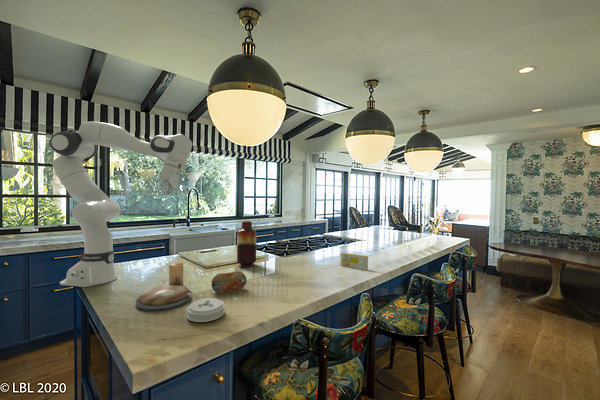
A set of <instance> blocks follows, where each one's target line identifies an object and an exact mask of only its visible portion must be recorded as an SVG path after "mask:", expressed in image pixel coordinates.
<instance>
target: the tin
mask: <svg viewBox="0 0 600 400" xmlns="http://www.w3.org/2000/svg"><path fill="white" fill-rule="evenodd" d="M211 279H212V280H211V284H210V285H211V288H212V290H213V291H214V292H215V293H216V294H221V295H222V294H226V293H232V292H238V291H240V290H242V289H244V287H246V284H247V277H246V275H245V274H244V273H243V272H242V271H238V270H236V271H229V272H221V273H217V274H216V275H215V276H213V278H211Z"/></svg>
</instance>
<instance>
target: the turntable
mask: <svg viewBox="0 0 600 400" xmlns="http://www.w3.org/2000/svg"><path fill="white" fill-rule="evenodd" d="M189 290H190V289H189V288H188V287H187V286H185V285H183V286H179V285H169V284H168V285H162V286H157V287H152V288H150V289H147V290H145V291H143V292H141V293H140V294H139V297H138V298H139V302H140V303H141V304H143V305H149V306H160V305H167V304H172V303H175V302H178V301H181V300H183V299H185V298H186V297H187V296H191V295H192V292H191V293H189Z"/></svg>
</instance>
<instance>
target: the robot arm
mask: <svg viewBox="0 0 600 400" xmlns="http://www.w3.org/2000/svg"><path fill="white" fill-rule="evenodd" d="M48 144H49V146H50V148H51V149H52V150H53V152H55V153H56V154H59V155H60V156H58V157H56V158H55V159H54V160H53V161H52V168H53V171H54V173H55V174H56V177H57V178H58V180H59V182H60V183H61V184H62V185H63V187H64V189H65V190H66V192H67V193H68V195H69V196H70V197H71V198H72V199H74V200H77V201H78V202H79V203H78V204H76V205H75V206H74V207H73V209H72V210H71V217H72V219H73V220H74V221H75V222H76V223H77V224H78V225H79V227H80V229H81V232H82V234H83V242H84V252H83V253H82V254H78V258H81V259H80V261H78V262H77V263H76V264H74V265H72V267H69V269H68V270H67V272H66V277H65V279H63V280H61V281H59V285H60V286H69V287H79V288H87V287H92V286H97V285H102V284H107V283H109V282H113V281H115V280H116V279H118V276H117V274H116V270H115V269H116V268H115V264H114V263H115V262H114V259H115V251H114V247H113V244H114V242H113V233H112V232H111V231H110V230H109V228H108V224H107V222H111V221H113V220H115V219H116V218H118V217H119V216H120V214H121V212H122V211H121V210H122V209H121V206H120V204H119V203H118V202H116V201H114V200H113V199H111V198H110V197H109V196H108V195H107V194H106V193H105V192H104V191H102V189H101V188H100V187H99V186H98V185H97V184H96V182H95V181H94V180H93V179H92V177H91V175H90V174H89V173H88V171H87V170H86V168H85V167H84V165H83V164H86V163H88V162H89V161H90V160H92V158H94V157H95V156H96V154H97V153H98V146H100V147H101V146H102V147H106V148H111V149H118V150H124V151H129V152H135V153H138V154H143V155H147V156H151V157H155V158H157V159H159V160H161V161H162V163H163V165H162V166H163V167H162V169H161V173H160V179H161V180H162V184H161V189H160V190H161V191H162V192H165V195H166V196H170V195H171V193H172V191H173V190H174V189H175V190H176V189H177V187H178V185H179V181H180V177H181V174H183V173H185V169H186V165H187V164H188V163H187V161H188V158H189V157H190V155H191V152H192V149H193V148H192V147H193V141H192V140H191V138H189V137H188V136H186V135H184V134H182V133H178V134H175V135H163V134H158V135H155V136H154V137H152V138H151V140H150V142H148V141H144V140H141V139H139V138H137V137H136V136H134V135H133V134H131V133H130V132H129V131H127V130H126V129H125V128H123V127H120V126H118V125H115V124H113V123H107V122H102V121H101V122H100V121H84V122H83V123H81V124H80V126H79V129H78V130H77V131H76V130H74V129H69V130H66V131H65V130H64V131H59V132H56V133H53V134H52V135H51V136H50V138H49V143H48Z"/></svg>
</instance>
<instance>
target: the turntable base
mask: <svg viewBox="0 0 600 400" xmlns="http://www.w3.org/2000/svg"><path fill="white" fill-rule="evenodd" d="M189 293H192V291H191V290H190V289H189ZM192 297H193V296H192V295H191V296H187V297H186V298H185V299H183V300H181V301H178V302H175V303H172V304H167V305H160V306H149V305H143V304H141V303H140V302H139V297H137V298H136V299H135V306H136V308H137V309H138V310H139V311H140V310H141V311H143V312H144V311H145V312H160V311H167V310H172V309H175V308H179V307H181V306H184V305H185V304H187V303H189V302H190V301H191V300H192Z"/></svg>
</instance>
